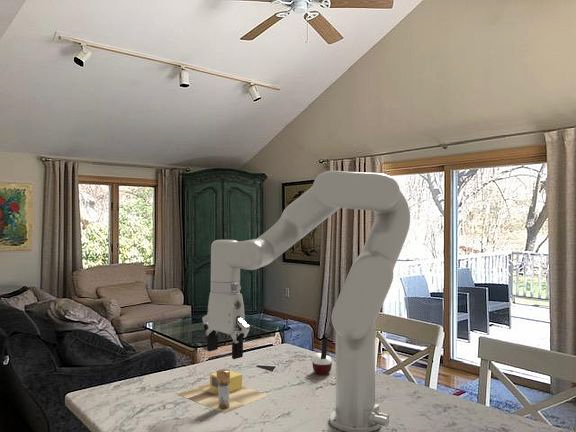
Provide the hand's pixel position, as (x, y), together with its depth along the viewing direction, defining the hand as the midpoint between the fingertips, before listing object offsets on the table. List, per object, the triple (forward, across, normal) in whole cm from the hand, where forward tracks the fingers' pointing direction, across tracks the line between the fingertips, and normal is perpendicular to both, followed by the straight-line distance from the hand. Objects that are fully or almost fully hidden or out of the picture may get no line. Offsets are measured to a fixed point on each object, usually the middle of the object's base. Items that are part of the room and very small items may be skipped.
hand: (224, 354), depth 120 cm
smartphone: (+15, +14, -28) cm, 35 cm away
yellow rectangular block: (+13, +10, -9) cm, 19 cm away
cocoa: (+15, -1, -40) cm, 43 cm away
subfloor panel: (+15, +7, -5) cm, 17 cm away
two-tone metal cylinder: (+13, 0, 0) cm, 13 cm away
